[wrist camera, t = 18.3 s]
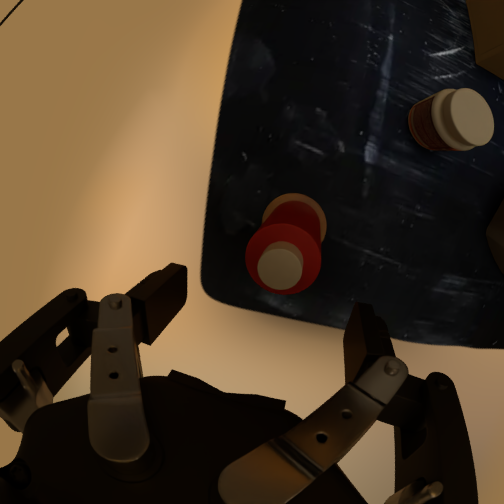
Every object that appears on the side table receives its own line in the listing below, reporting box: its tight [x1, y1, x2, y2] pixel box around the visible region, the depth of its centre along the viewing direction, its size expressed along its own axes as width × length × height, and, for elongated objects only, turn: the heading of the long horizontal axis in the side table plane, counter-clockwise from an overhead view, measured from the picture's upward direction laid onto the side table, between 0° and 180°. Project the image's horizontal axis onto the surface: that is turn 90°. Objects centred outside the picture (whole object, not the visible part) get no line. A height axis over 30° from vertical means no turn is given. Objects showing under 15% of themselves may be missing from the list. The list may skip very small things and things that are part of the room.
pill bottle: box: [408, 88, 494, 151], centre depth 15 cm, size 5×5×8 cm
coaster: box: [262, 193, 327, 243], centre depth 25 cm, size 6×6×1 cm
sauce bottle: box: [245, 200, 321, 295], centre depth 20 cm, size 5×5×10 cm
